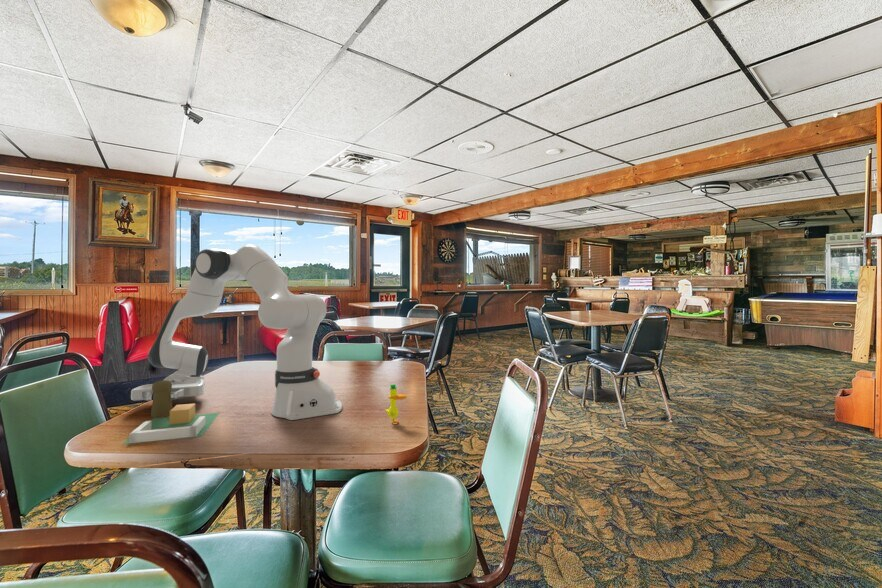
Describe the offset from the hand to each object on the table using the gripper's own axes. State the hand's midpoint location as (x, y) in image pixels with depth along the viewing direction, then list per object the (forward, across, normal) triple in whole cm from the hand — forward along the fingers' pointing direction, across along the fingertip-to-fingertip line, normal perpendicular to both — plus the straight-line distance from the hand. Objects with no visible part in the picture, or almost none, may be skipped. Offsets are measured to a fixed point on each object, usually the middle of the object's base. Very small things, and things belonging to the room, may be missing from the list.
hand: (161, 397), depth 118 cm
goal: (+18, +8, +6) cm, 20 cm away
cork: (-1, 0, +6) cm, 6 cm away
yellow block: (+7, +8, +6) cm, 12 cm away
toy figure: (+28, +70, +6) cm, 76 cm away
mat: (+13, +8, +6) cm, 16 cm away
